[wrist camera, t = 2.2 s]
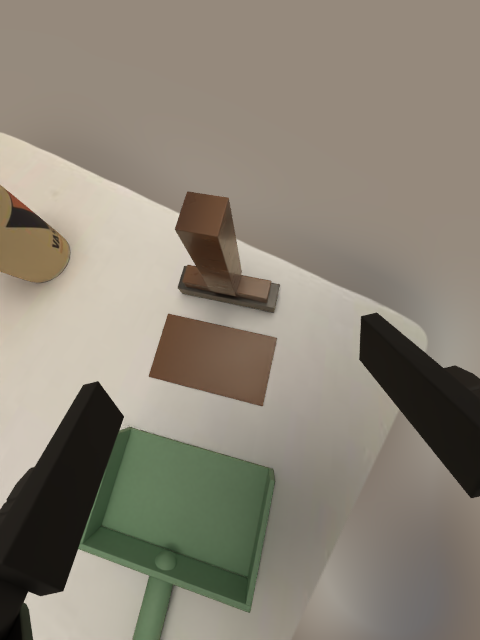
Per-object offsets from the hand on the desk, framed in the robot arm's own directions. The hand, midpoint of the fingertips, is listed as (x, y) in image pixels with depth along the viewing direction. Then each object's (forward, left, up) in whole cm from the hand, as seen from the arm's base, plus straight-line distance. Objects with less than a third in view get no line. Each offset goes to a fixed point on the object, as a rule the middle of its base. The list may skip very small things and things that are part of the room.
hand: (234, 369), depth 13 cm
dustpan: (+4, +20, -17) cm, 27 cm away
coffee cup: (+32, -9, -17) cm, 37 cm away
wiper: (+5, -9, -17) cm, 20 cm away
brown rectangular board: (+5, -1, -17) cm, 18 cm away
